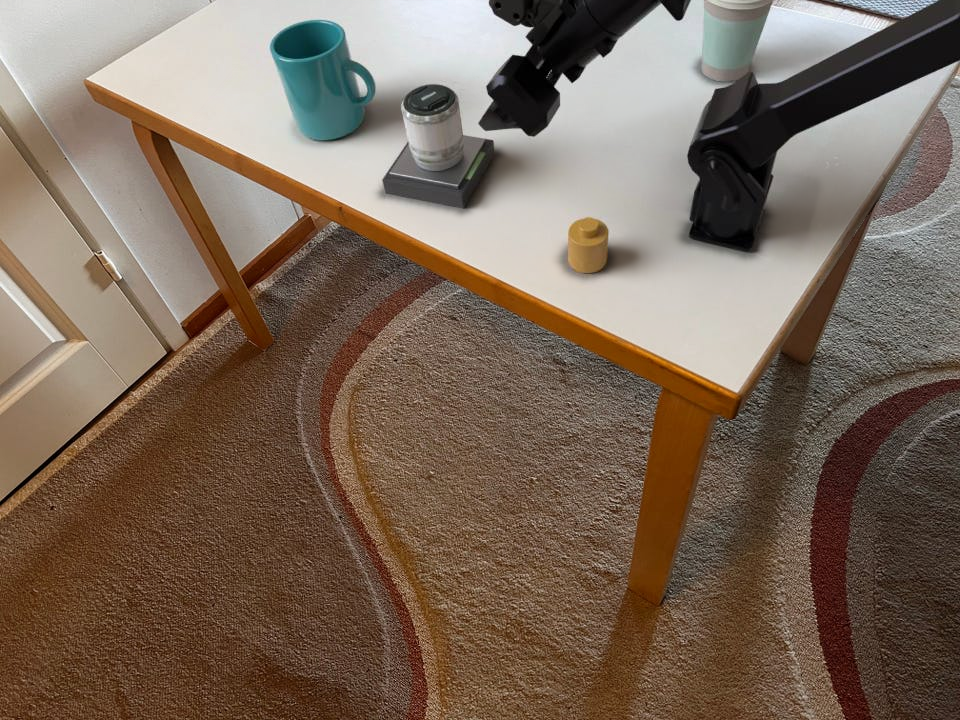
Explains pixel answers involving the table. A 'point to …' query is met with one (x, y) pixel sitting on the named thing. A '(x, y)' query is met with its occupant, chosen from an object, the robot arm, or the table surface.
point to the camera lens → (433, 126)
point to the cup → (321, 79)
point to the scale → (441, 175)
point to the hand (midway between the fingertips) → (499, 101)
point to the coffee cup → (731, 36)
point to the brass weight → (587, 245)
